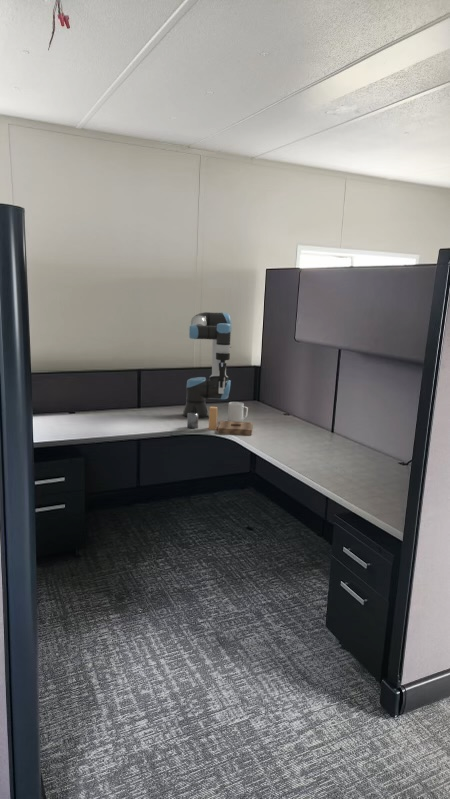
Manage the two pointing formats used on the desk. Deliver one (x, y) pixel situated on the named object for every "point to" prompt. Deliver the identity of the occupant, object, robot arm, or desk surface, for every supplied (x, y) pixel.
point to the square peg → (213, 418)
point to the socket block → (235, 428)
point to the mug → (236, 411)
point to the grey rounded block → (192, 420)
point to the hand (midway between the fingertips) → (221, 391)
